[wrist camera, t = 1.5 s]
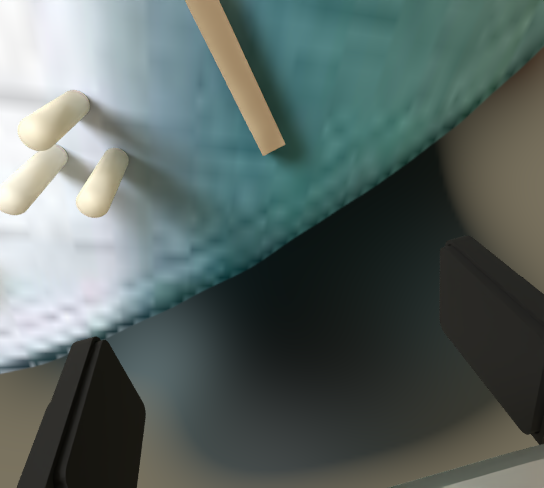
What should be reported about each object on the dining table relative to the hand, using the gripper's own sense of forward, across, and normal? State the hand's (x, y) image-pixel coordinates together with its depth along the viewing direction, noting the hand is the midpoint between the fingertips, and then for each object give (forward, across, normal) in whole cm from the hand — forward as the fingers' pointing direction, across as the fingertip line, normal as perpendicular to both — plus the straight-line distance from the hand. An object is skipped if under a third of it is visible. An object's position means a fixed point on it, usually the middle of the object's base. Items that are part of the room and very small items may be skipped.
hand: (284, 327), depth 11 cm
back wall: (+26, -2, -4) cm, 26 cm away
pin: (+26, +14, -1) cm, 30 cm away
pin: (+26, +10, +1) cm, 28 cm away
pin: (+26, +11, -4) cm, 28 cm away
